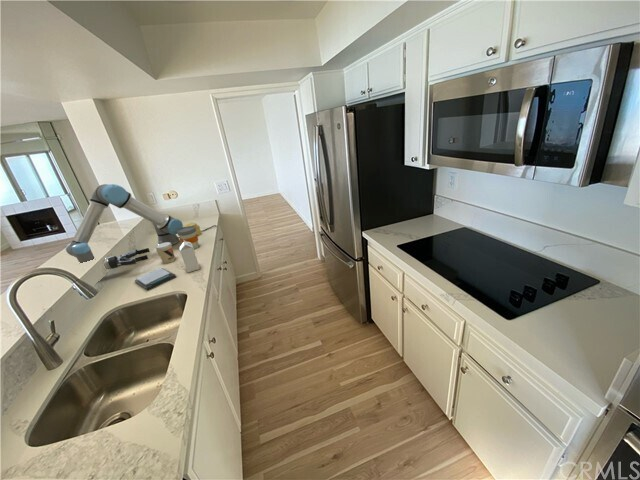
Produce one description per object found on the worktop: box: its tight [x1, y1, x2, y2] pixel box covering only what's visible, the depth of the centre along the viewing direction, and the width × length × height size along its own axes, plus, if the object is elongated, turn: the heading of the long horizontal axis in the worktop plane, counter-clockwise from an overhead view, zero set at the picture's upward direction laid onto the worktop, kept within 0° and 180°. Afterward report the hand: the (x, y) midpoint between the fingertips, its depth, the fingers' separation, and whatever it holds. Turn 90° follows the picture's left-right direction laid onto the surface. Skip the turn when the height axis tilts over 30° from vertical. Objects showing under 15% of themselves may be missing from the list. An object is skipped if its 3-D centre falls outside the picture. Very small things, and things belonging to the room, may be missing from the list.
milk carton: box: [179, 241, 201, 273], centre depth 161 cm, size 7×7×19 cm
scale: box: [134, 267, 177, 292], centre depth 157 cm, size 16×18×3 cm
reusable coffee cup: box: [177, 226, 199, 250], centre depth 196 cm, size 13×13×15 cm
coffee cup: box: [155, 242, 176, 264], centre depth 178 cm, size 9×9×12 cm
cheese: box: [183, 222, 203, 236], centre depth 221 cm, size 10×11×10 cm
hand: (148, 253), depth 174 cm, fingers open, 13 cm apart
